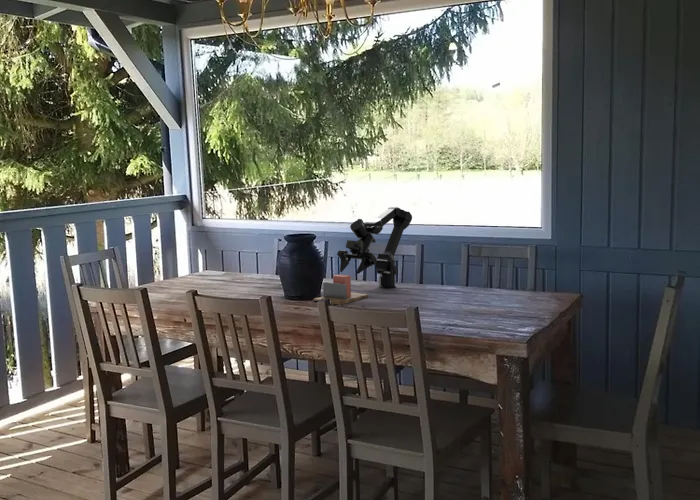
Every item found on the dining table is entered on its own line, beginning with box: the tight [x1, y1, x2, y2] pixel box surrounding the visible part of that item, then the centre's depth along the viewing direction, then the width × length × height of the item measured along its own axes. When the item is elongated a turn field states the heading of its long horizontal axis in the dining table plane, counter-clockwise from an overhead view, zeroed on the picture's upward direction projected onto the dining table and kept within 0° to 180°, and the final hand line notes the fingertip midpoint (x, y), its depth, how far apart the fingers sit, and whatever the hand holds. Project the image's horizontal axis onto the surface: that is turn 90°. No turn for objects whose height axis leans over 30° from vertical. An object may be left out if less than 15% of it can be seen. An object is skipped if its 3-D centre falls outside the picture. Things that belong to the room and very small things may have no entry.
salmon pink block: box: [332, 274, 352, 297], centre depth 303 cm, size 4×6×9 cm, turn 52°
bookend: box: [322, 281, 347, 300], centre depth 300 cm, size 1×12×6 cm, turn 52°
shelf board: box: [312, 291, 369, 306], centre depth 303 cm, size 20×14×1 cm
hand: (348, 272), depth 306 cm, fingers open, 9 cm apart
